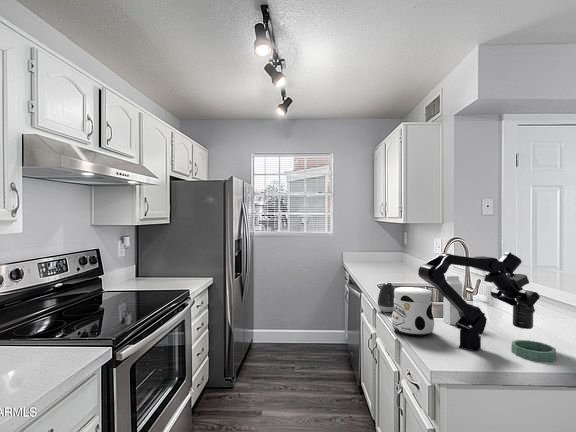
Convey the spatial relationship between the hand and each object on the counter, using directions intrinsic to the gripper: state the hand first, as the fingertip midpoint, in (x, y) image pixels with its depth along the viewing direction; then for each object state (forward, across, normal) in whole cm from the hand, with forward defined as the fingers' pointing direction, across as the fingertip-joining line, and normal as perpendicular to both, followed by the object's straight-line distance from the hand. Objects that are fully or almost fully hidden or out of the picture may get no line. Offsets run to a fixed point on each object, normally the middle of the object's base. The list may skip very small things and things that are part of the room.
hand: (526, 309), depth 145 cm
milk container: (-16, +21, +36) cm, 44 cm away
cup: (+4, -11, +15) cm, 19 cm away
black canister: (-12, +56, +31) cm, 65 cm away
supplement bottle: (+4, 0, +6) cm, 7 cm away
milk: (+2, +30, +17) cm, 35 cm away
